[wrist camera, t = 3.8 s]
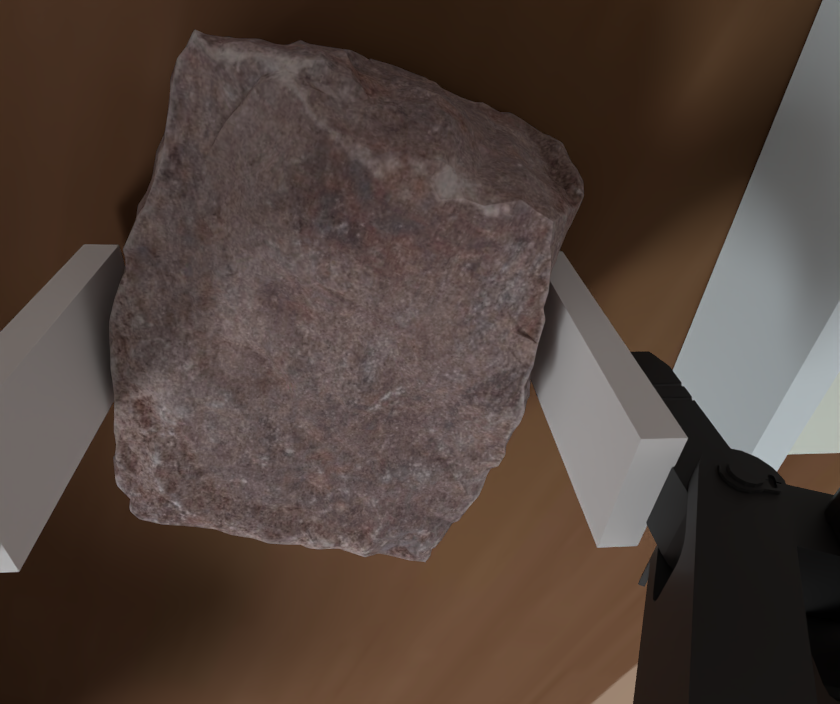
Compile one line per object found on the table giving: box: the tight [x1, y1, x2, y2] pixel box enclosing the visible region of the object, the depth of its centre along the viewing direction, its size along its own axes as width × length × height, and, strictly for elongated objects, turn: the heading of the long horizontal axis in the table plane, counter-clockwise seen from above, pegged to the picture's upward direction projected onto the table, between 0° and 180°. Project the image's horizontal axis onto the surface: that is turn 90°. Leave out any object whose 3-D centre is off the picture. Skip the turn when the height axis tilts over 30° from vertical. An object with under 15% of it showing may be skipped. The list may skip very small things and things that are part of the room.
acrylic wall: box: [673, 0, 840, 472], centre depth 14 cm, size 1×16×4 cm, turn 177°
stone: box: [109, 29, 584, 562], centre depth 13 cm, size 12×9×5 cm
